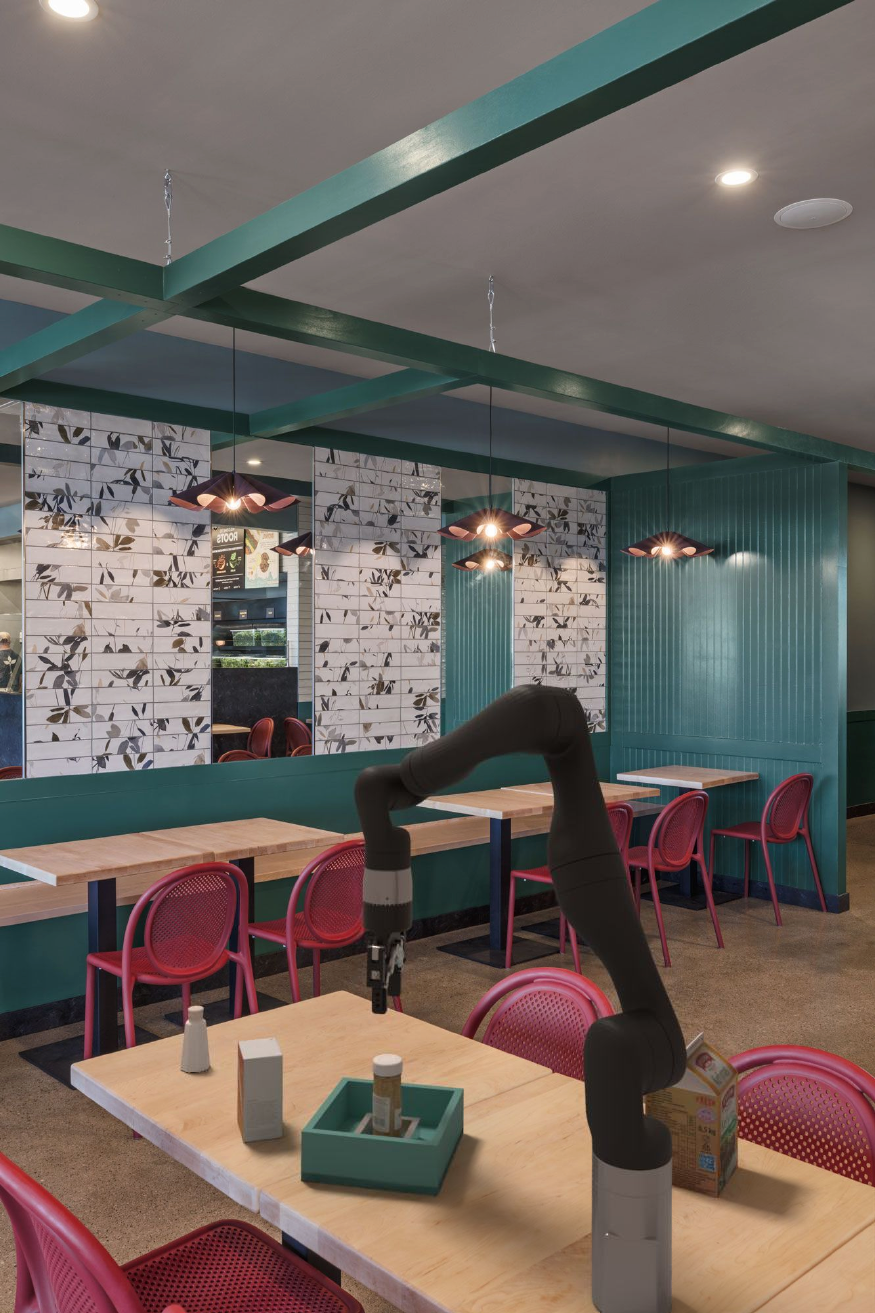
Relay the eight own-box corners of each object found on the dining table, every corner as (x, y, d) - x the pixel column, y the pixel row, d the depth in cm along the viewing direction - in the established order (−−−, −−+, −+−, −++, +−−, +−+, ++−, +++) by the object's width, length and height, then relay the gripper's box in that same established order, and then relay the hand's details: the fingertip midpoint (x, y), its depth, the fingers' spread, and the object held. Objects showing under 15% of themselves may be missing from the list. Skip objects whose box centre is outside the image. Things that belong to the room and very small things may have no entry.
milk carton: (717, 1198, 142) (717, 1061, 142) (644, 1178, 147) (645, 1046, 148) (737, 1167, 151) (738, 1038, 151) (668, 1149, 156) (668, 1025, 157)
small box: (236, 1121, 165) (237, 1040, 165) (275, 1116, 167) (276, 1036, 167) (242, 1143, 157) (242, 1059, 158) (283, 1138, 159) (283, 1054, 159)
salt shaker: (177, 1064, 189) (178, 1005, 189) (206, 1060, 191) (207, 1001, 191) (183, 1075, 184) (183, 1014, 184) (213, 1070, 186) (213, 1010, 186)
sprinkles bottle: (407, 1150, 153) (408, 1060, 153) (381, 1158, 150) (382, 1066, 151) (392, 1138, 157) (392, 1050, 157) (366, 1145, 154) (366, 1056, 154)
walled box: (437, 1196, 142) (437, 1146, 142) (300, 1180, 146) (301, 1131, 146) (463, 1133, 161) (463, 1088, 162) (342, 1120, 166) (343, 1077, 166)
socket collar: (407, 1164, 149) (407, 1143, 149) (350, 1157, 150) (350, 1137, 151) (420, 1137, 157) (420, 1118, 157) (366, 1132, 159) (366, 1112, 159)
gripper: (400, 908, 147) (399, 1022, 146) (422, 888, 161) (421, 991, 160) (350, 906, 148) (349, 1018, 148) (376, 886, 162) (375, 988, 162)
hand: (387, 1004), depth 154 cm, fingers open, 8 cm apart
